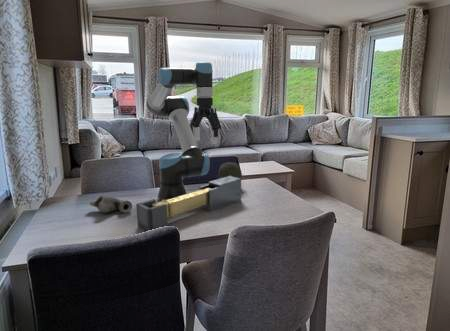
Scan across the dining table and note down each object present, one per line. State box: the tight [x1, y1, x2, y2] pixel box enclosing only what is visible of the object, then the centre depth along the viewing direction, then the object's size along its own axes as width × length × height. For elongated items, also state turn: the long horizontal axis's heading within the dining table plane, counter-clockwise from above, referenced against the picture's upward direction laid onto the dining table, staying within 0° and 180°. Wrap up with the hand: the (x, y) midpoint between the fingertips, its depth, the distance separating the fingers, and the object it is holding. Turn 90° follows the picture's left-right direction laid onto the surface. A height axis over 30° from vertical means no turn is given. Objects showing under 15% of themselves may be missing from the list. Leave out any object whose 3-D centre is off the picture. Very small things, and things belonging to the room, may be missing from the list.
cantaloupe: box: [217, 161, 243, 180], centre depth 186 cm, size 14×14×15 cm
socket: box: [135, 198, 169, 232], centre depth 135 cm, size 10×8×10 cm
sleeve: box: [198, 176, 242, 212], centre depth 162 cm, size 8×21×12 cm, turn 134°
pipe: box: [89, 195, 133, 214], centre depth 154 cm, size 16×9×15 cm
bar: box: [151, 188, 210, 219], centre depth 146 cm, size 6×32×6 cm, turn 134°
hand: (205, 142), depth 156 cm, fingers open, 13 cm apart
